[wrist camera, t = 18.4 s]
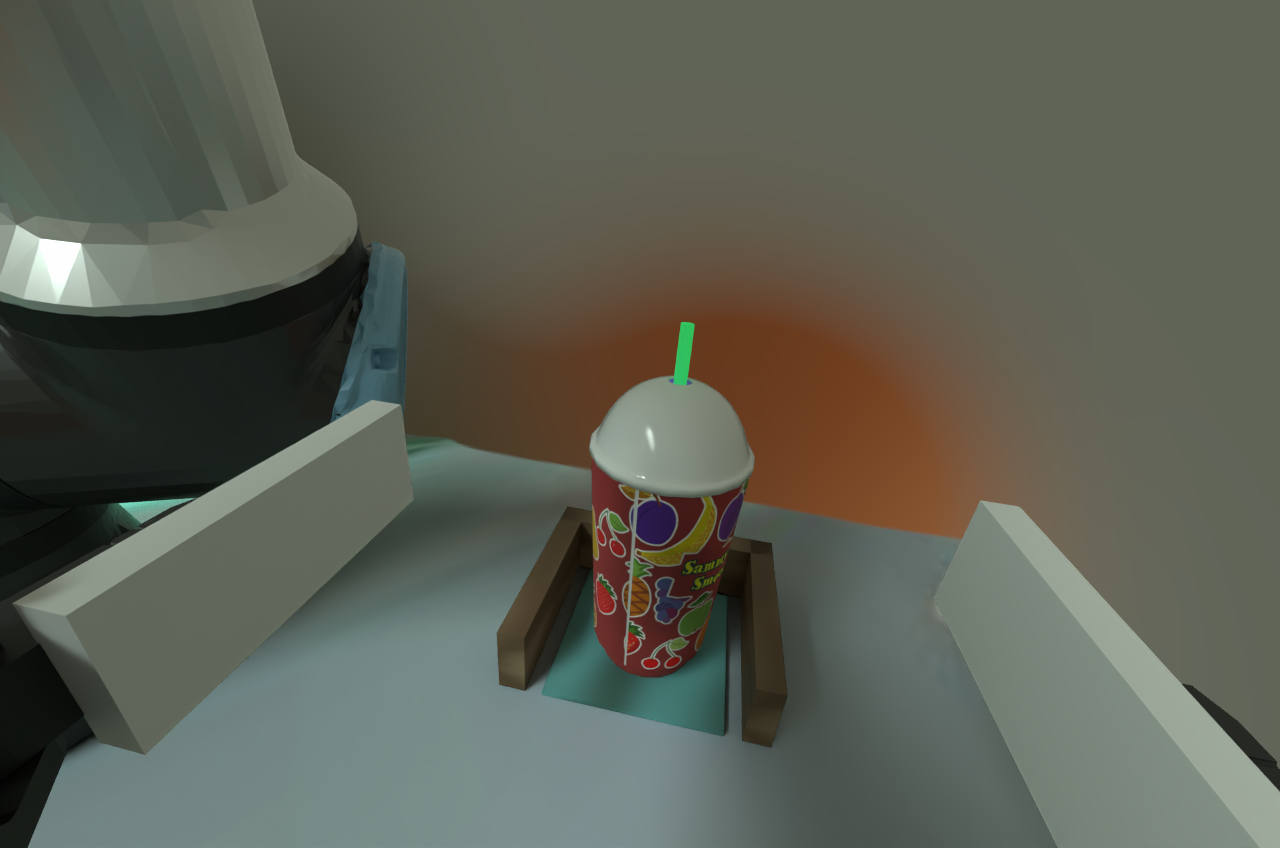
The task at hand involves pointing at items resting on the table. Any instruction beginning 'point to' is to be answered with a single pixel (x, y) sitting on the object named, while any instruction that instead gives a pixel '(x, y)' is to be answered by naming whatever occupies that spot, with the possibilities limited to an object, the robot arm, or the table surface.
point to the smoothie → (664, 515)
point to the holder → (668, 699)
